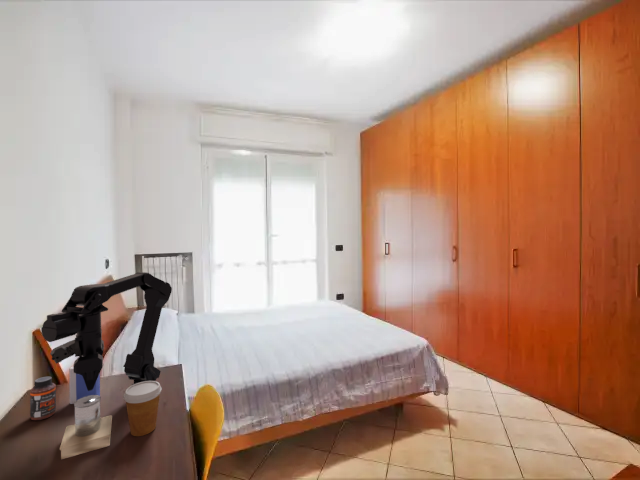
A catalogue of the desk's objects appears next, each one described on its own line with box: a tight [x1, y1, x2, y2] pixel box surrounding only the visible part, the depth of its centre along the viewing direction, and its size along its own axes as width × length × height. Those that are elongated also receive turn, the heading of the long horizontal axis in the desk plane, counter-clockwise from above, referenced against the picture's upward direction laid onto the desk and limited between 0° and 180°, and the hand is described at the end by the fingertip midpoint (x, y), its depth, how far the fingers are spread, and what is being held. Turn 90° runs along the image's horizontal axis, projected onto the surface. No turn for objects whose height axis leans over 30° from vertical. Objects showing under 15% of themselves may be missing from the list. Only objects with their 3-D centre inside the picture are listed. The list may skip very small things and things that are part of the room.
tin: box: [73, 395, 101, 437], centre depth 85 cm, size 6×6×8 cm
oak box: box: [59, 415, 113, 460], centre depth 85 cm, size 10×10×3 cm
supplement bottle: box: [29, 376, 57, 421], centre depth 97 cm, size 6×6×11 cm
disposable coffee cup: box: [122, 380, 162, 437], centre depth 91 cm, size 10×10×12 cm
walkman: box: [68, 366, 101, 405], centre depth 106 cm, size 8×3×12 cm, turn 99°
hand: (91, 383), depth 92 cm, fingers open, 9 cm apart
